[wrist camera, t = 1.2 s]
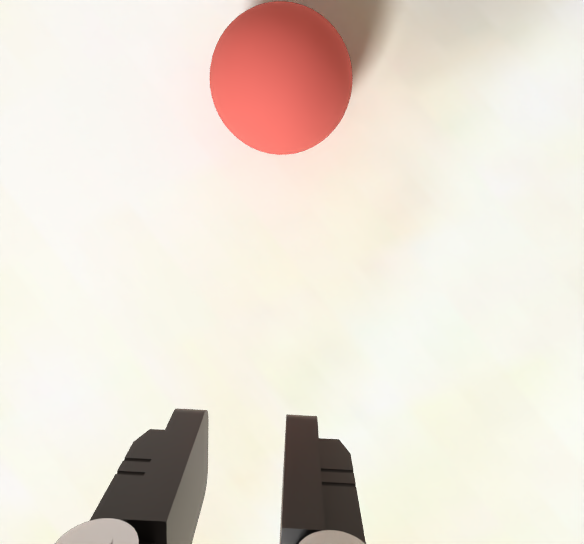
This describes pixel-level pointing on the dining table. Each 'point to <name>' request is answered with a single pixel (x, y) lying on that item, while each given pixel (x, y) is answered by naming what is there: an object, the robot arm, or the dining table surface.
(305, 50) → the ball
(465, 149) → the dining table surface
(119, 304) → the dining table surface
